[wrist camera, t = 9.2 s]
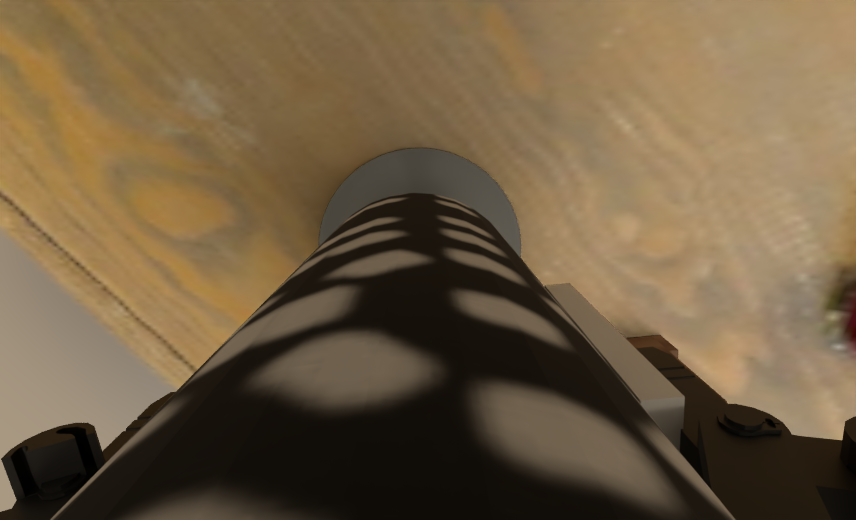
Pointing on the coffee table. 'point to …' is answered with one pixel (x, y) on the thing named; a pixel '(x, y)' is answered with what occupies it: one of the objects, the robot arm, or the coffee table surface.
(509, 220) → the coaster
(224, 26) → the coffee table surface
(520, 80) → the coffee table surface
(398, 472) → the spotted tube
